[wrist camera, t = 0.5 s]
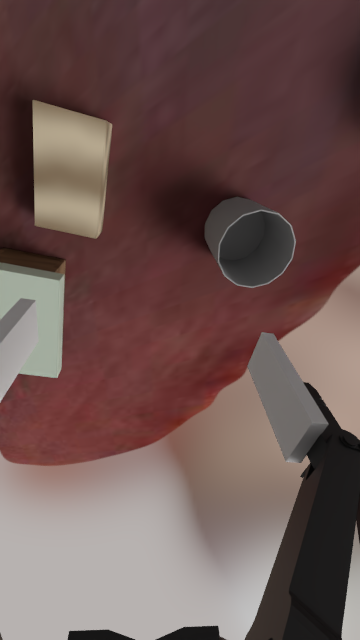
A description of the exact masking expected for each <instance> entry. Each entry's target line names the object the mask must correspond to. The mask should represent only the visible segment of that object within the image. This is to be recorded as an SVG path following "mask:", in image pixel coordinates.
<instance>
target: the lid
mask: <svg viewBox="0 0 360 640" xmlns="http://www.w3.org/2000/svg"><path fill="white" fill-rule="evenodd" d="M64 276H65V274H60V273H55V272H50V271H44V270H39V269H34V268H28V267H23V266H17V265H12V264H7V263H1V262H0V320H1V319H2V318H3V316H4V315H5V314H6V313H7V312H8V311H9V310H10V309H11V308H12V307H13V306H14V305H15V304H16V302H17V301H18V300H19V299H20V298H24V299H31V300H36V311H37V325H38V340H39V341H38V343H37V344H36V346H35V348H34V349H33V351H32V352H31V354H30V356H29V357H28V359H27V360H26V362H25V363H24V365H23V367H22V368H21V370H20V371H19V373H20V374H28V375H36V376H44V377H52V378H57V377H58V375H59V373H60V371H61V365H62V335H63V306H64Z"/></svg>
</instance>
